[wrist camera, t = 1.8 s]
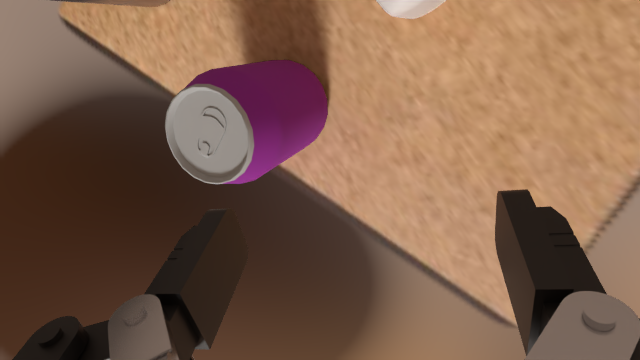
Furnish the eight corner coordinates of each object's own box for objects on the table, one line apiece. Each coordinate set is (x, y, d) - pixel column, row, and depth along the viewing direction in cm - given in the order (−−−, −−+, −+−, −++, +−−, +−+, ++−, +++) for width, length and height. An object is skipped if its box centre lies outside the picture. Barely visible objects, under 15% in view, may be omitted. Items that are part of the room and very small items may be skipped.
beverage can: (310, 162, 36) (238, 217, 26) (240, 121, 38) (145, 157, 27) (346, 84, 33) (279, 111, 22) (268, 42, 34) (170, 48, 24)
